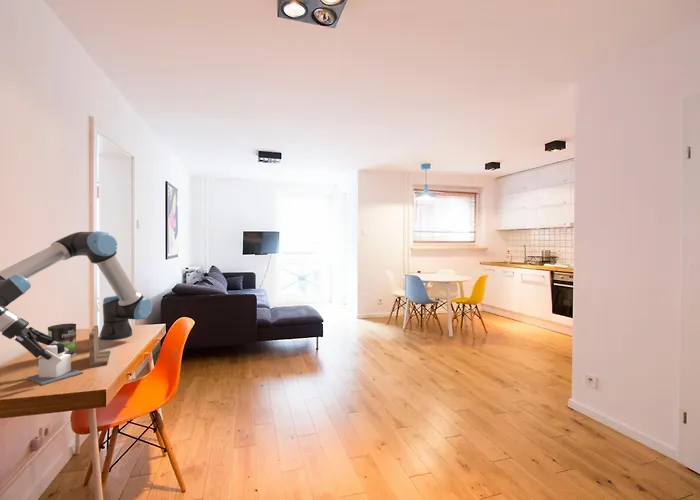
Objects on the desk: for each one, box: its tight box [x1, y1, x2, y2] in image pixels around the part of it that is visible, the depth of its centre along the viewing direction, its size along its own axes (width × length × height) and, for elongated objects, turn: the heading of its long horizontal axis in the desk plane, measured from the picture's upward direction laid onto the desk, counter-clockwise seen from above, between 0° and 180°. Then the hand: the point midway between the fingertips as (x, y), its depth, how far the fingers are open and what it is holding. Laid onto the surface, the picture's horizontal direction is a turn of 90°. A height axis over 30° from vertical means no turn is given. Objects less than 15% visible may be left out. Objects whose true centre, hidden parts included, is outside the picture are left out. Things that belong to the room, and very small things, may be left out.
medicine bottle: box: [38, 343, 72, 378], centre depth 137 cm, size 7×7×12 cm
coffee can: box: [47, 323, 78, 357], centre depth 161 cm, size 10×10×14 cm
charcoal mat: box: [26, 367, 84, 386], centre depth 137 cm, size 13×13×1 cm
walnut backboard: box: [88, 325, 111, 368], centre depth 155 cm, size 18×6×14 cm, turn 31°
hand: (62, 357), depth 138 cm, fingers open, 13 cm apart
